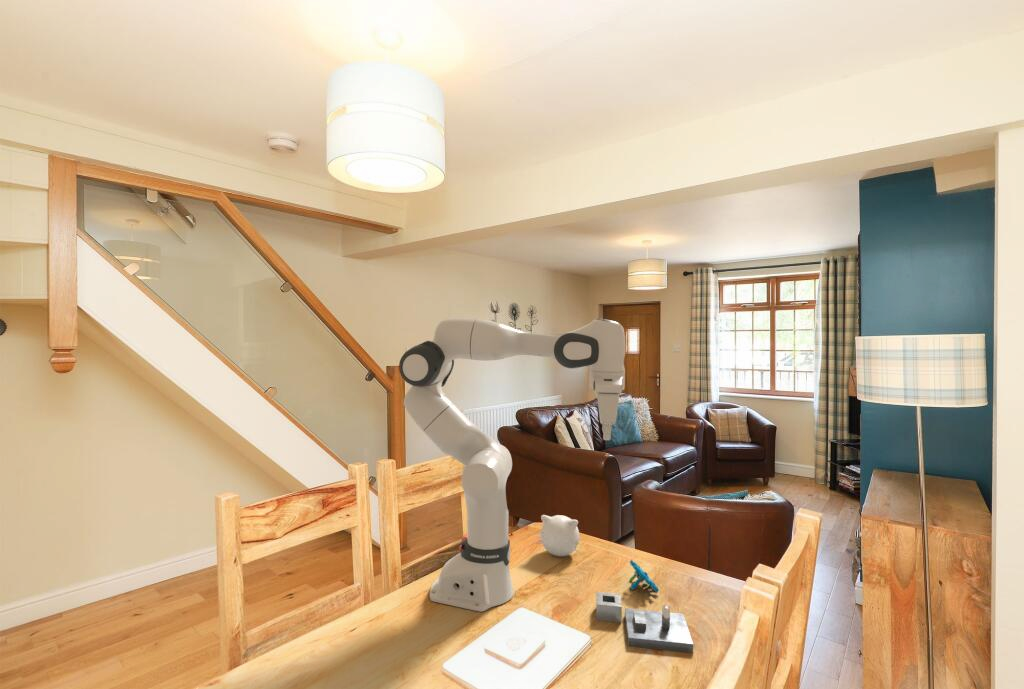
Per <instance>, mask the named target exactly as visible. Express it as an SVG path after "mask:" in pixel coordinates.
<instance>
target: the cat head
mask: <svg viewBox="0 0 1024 689" xmlns="http://www.w3.org/2000/svg"><path fill="white" fill-rule="evenodd" d="M540 519H541V521H542V526H541V530H540V531H539V532H536V533H535V535H537V534H538V535H540V536H535V537H534V538H536V539H540V540H541V541H537V542H534V543H533V545H536V544H537V545H538V544H541V545H542V546H543V548H544V549H545V550H546V551H547V552H548V553H549V554H551V555H553V556H555V557H566V556H569V555H571V554H572V553H574V551H576V552H578V550H577V547H578V545H579V541H580V530H579V528H578V524H579V521H578V520H577V519H572V518H571V517H568V516H566V515H560V514H555V515H553V516H550V515H546V514H542V515H541V516H540Z"/></svg>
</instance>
